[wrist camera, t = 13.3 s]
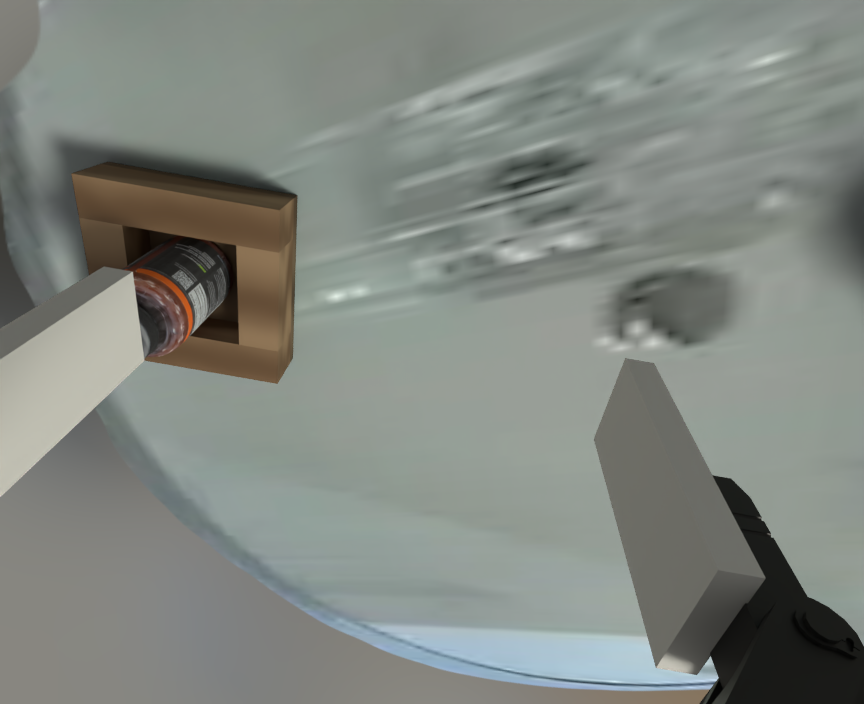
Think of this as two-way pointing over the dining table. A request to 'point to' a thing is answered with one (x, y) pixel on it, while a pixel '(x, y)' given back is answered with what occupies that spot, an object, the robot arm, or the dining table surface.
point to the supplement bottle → (178, 290)
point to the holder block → (222, 225)
